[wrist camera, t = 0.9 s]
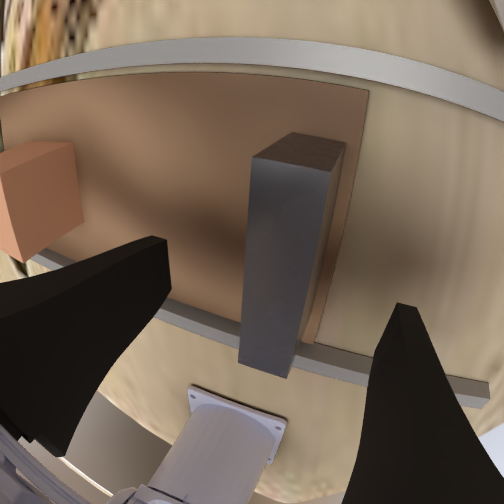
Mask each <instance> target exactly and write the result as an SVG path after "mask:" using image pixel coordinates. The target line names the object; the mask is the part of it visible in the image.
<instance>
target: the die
mask: <svg viewBox="0 0 504 504" xmlns="http://www.w3.org/2000/svg"><path fill="white" fill-rule="evenodd" d="M489 1H490V3H491V5H492V7H493V9H494V11H495V14H496V16H497V18H498V20H499V22H500V24H501V27H502V29H503V31H504V0H489Z"/></svg>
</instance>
